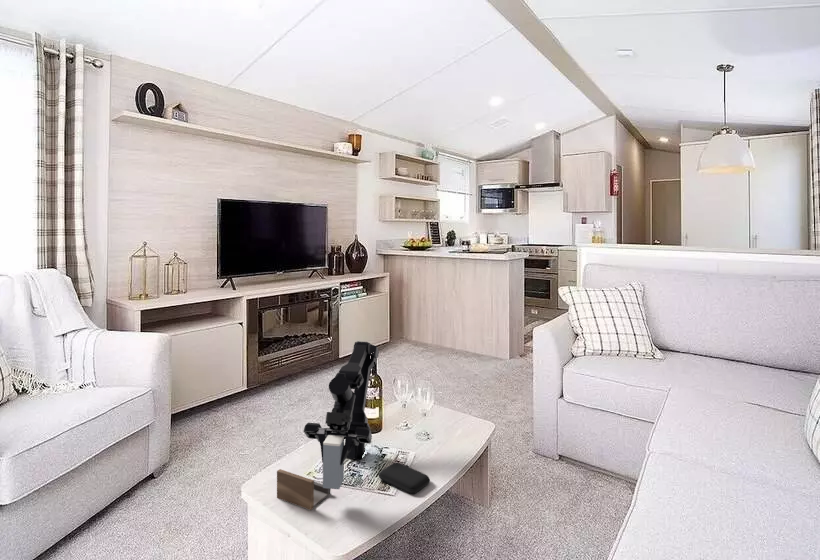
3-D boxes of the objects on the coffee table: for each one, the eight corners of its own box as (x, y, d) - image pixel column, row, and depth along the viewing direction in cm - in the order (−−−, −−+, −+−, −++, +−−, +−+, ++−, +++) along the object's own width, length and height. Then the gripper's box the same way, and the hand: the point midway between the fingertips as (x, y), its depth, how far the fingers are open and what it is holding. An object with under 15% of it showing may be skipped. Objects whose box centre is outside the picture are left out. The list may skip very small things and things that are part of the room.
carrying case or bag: (434, 482, 140) (397, 466, 149) (434, 473, 139) (397, 457, 148) (413, 498, 131) (375, 480, 140) (414, 488, 131) (375, 471, 140)
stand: (297, 482, 137) (297, 457, 136) (330, 493, 132) (330, 467, 131) (276, 497, 129) (276, 470, 128) (310, 510, 124) (311, 482, 123)
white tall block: (327, 478, 129) (328, 435, 127) (343, 480, 128) (344, 436, 127) (322, 487, 124) (323, 442, 123) (339, 489, 124) (339, 444, 122)
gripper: (305, 395, 129) (291, 451, 119) (370, 400, 127) (361, 457, 117) (314, 411, 137) (301, 464, 128) (375, 415, 135) (367, 470, 126)
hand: (332, 464), depth 124 cm, fingers closed on white tall block, 5 cm apart
